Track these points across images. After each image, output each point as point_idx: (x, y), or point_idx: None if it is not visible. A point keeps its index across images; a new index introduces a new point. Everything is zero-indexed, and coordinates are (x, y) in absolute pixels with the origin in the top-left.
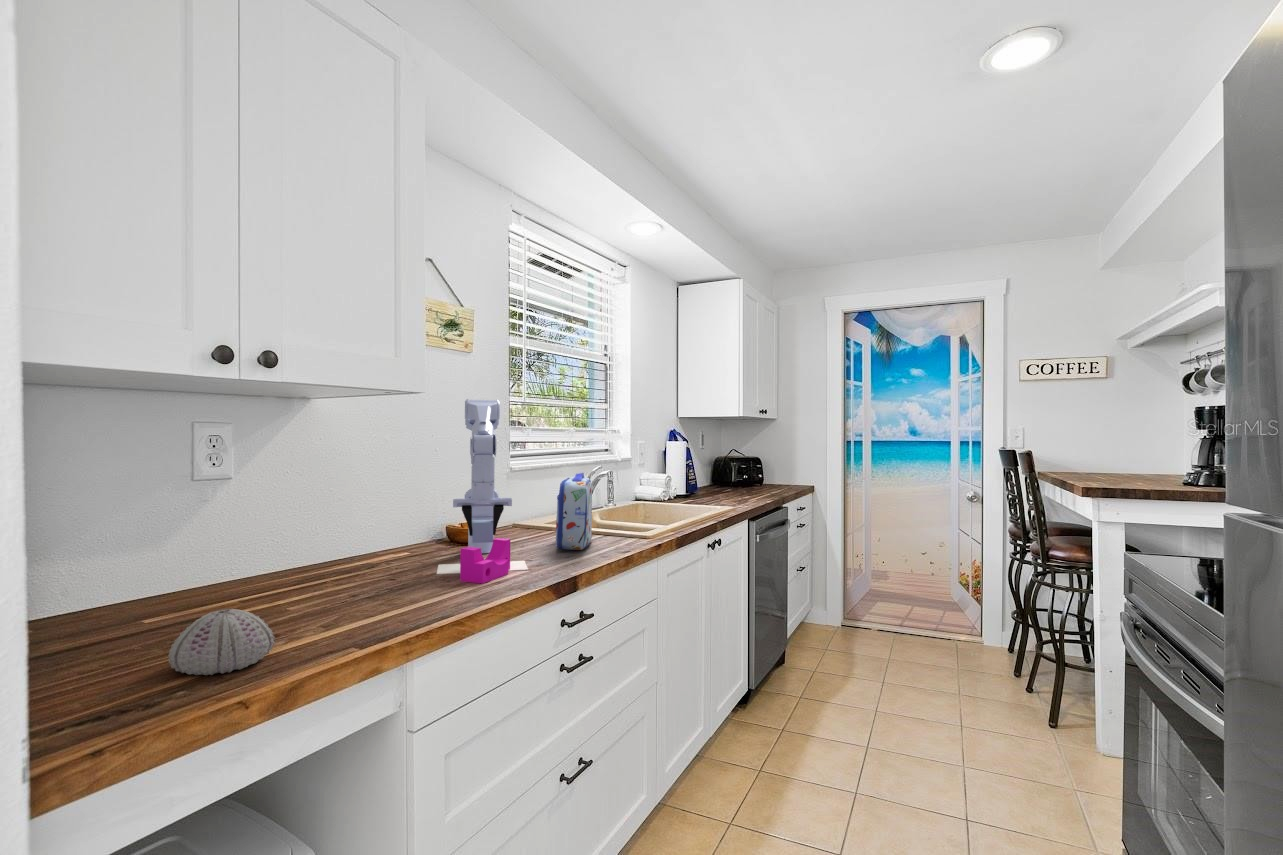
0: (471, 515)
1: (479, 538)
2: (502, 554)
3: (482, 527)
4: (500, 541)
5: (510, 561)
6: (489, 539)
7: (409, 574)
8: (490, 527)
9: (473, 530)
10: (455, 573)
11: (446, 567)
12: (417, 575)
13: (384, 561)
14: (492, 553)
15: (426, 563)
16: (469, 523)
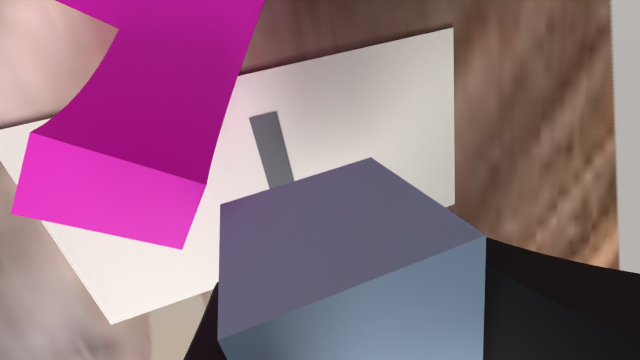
0: (603, 319)
1: (333, 184)
2: (100, 65)
3: (344, 243)
4: (115, 149)
5: (178, 297)
6: (250, 206)
7: (540, 42)
8: (251, 273)
9: (418, 197)
10: (377, 44)
11: (424, 156)
12: (516, 19)
13: (589, 237)
14: (198, 99)
15: (488, 228)
16: (506, 255)
